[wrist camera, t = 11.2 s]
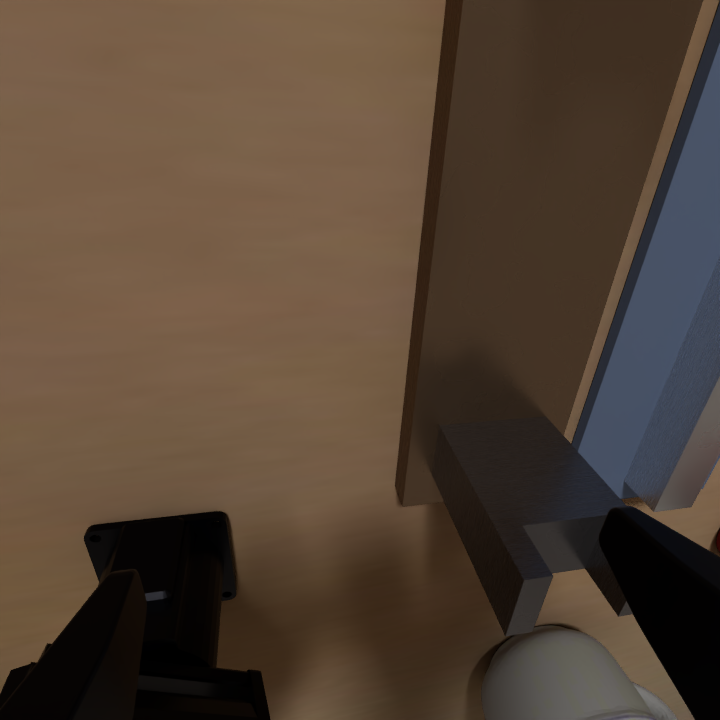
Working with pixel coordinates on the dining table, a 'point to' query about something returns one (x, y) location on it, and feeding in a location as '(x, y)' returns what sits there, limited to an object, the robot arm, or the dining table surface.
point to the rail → (684, 416)
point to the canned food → (718, 541)
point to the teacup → (563, 681)
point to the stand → (528, 273)
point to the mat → (660, 285)
